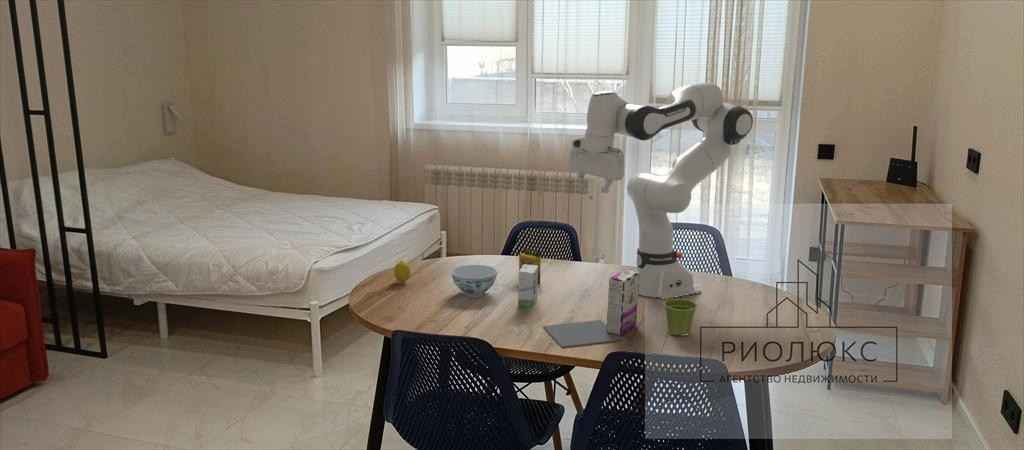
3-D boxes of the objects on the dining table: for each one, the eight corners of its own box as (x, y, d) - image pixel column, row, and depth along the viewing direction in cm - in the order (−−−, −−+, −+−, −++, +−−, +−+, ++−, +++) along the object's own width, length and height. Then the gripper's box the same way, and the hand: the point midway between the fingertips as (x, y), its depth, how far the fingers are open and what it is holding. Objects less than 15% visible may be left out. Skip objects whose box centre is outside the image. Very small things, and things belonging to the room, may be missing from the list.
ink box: (522, 298, 251) (522, 263, 248) (538, 299, 250) (538, 264, 247) (517, 307, 243) (517, 271, 240) (533, 308, 242) (533, 272, 239)
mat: (600, 321, 232) (600, 319, 231) (622, 340, 217) (622, 339, 217) (543, 327, 227) (543, 326, 226) (562, 347, 212) (562, 346, 212)
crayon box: (518, 281, 268) (518, 249, 266) (524, 279, 271) (524, 247, 268) (535, 286, 264) (535, 253, 261) (540, 283, 266) (540, 251, 263)
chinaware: (470, 304, 246) (470, 281, 244) (442, 293, 256) (442, 270, 255) (506, 294, 255) (506, 272, 253) (477, 283, 266) (477, 262, 264)
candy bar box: (620, 321, 231) (625, 268, 227) (636, 325, 228) (641, 271, 225) (604, 332, 221) (608, 277, 218) (620, 336, 219) (625, 280, 215)
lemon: (414, 282, 268) (413, 259, 266) (403, 286, 263) (402, 263, 261) (401, 279, 270) (400, 257, 269) (391, 283, 266) (390, 261, 264)
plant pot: (674, 341, 217) (676, 311, 214) (655, 329, 225) (657, 301, 223) (702, 336, 220) (704, 307, 218) (682, 325, 229) (684, 297, 227)
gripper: (631, 149, 228) (625, 196, 231) (582, 140, 243) (577, 183, 246) (616, 149, 224) (611, 196, 227) (567, 140, 239) (563, 184, 242)
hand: (593, 190), depth 236 cm, fingers open, 8 cm apart
